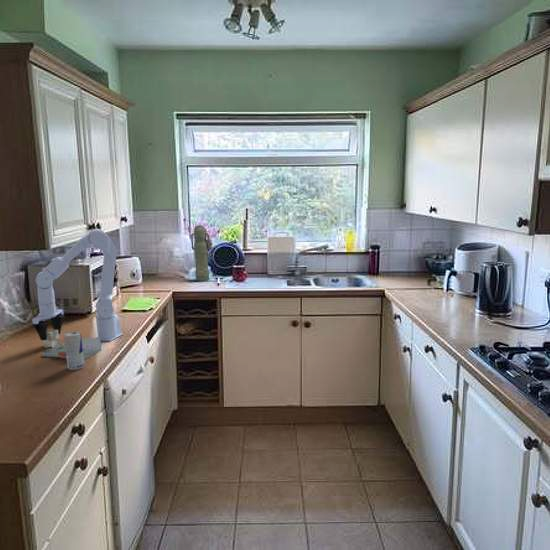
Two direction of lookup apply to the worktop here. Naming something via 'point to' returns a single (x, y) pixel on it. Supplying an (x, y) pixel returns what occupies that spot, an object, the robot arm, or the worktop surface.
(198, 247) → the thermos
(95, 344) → the stepped stand
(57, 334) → the column block
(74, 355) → the energy drink
